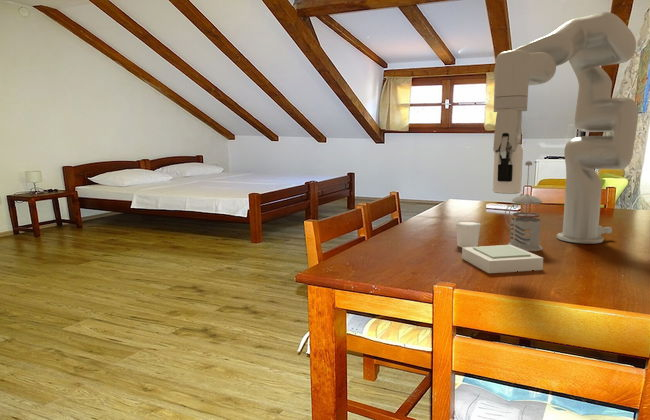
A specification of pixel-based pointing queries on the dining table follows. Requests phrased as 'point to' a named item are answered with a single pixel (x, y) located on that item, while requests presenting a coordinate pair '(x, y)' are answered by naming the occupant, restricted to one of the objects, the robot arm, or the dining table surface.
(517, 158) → the can
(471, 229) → the white cup
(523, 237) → the french press
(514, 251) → the base
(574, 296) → the dining table surface
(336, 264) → the dining table surface
